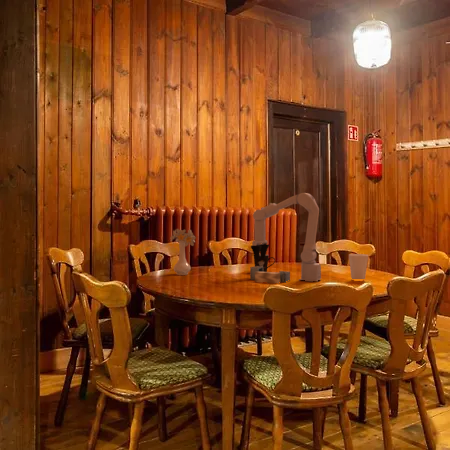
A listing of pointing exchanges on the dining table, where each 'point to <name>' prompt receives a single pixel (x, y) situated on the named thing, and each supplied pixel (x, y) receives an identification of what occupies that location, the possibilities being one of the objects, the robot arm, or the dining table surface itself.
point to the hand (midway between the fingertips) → (260, 258)
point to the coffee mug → (263, 262)
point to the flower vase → (182, 250)
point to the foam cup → (358, 265)
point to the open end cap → (284, 276)
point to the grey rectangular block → (255, 269)
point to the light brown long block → (267, 277)
